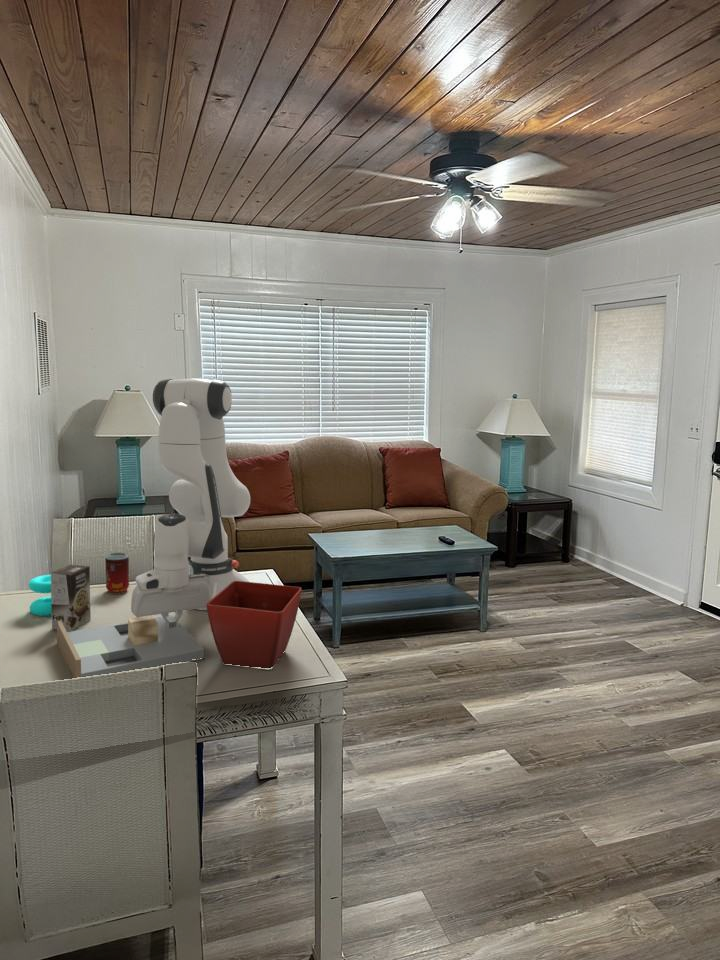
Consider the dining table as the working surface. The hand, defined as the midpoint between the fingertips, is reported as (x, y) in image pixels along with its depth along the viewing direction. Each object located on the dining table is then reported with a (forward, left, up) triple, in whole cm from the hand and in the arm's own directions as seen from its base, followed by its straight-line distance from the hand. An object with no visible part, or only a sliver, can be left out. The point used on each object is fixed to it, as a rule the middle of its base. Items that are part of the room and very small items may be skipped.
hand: (171, 627), depth 175 cm
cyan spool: (+24, -39, -5) cm, 46 cm away
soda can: (+3, -48, -5) cm, 49 cm away
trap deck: (+11, 0, -4) cm, 12 cm away
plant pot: (-16, +19, -5) cm, 25 cm away
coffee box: (+20, -25, -5) cm, 33 cm away
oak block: (+7, 0, -2) cm, 8 cm away
